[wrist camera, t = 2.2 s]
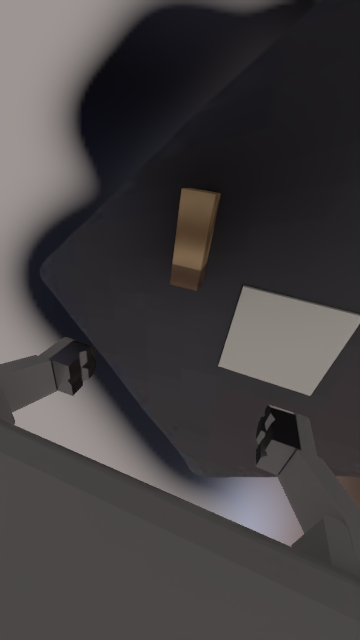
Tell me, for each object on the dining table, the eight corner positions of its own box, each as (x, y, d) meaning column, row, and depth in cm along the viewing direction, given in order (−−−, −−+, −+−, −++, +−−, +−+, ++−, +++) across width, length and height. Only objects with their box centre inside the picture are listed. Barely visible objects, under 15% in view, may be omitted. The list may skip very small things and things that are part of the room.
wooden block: (190, 187, 29) (181, 188, 26) (221, 193, 29) (215, 194, 25) (178, 274, 36) (170, 283, 33) (203, 281, 35) (196, 291, 32)
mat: (243, 284, 34) (243, 286, 33) (362, 314, 30) (364, 316, 30) (218, 363, 42) (218, 366, 42) (309, 393, 39) (310, 395, 39)
